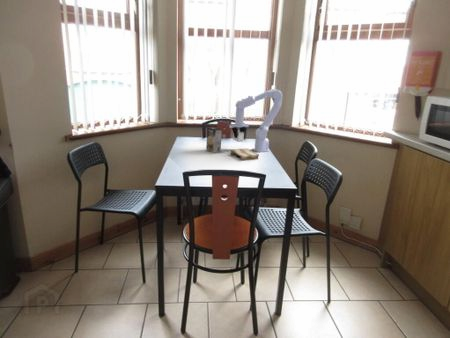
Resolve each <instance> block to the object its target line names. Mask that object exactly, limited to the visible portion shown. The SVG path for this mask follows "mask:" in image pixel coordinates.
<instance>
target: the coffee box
mask: <svg viewBox="0 0 450 338" xmlns="http://www.w3.org/2000/svg"><path fill="white" fill-rule="evenodd" d="M222 133H223V128H219V127H215V126H209V127H206V144H205V146H206V150H205V151H208V152H211V153H212V154H215V153H221V152H222V151H221V150H222V135H223V134H222Z"/></svg>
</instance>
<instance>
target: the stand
mask: <svg viewBox="0 0 450 338" xmlns="http://www.w3.org/2000/svg"><path fill="white" fill-rule="evenodd" d="M230 155H231V156H235V155H237V156H239V157H240V160H241V161H249V160H250V161H251V160H259V156H260V155H259V154H258V152H257V153H256V151H252V150H250V149H248V148H237V149H235V148H233V149H230Z"/></svg>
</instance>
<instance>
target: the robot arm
mask: <svg viewBox="0 0 450 338" xmlns="http://www.w3.org/2000/svg"><path fill="white" fill-rule="evenodd" d="M283 97H284V96H283V93H282V91H281V90H279V89H276V88H273V89H269V90H266V91H264V92H261V93H260V94H258V95H255V96H252V95H248V96H247V97H245V98H242V99H241V100H238V101H236V103H235V108H236V109H235V120H234V121H235V122H234V124H233V123H232V124H229V125H228V126H229V128H230V129H231V130H232V134H233V133H234V138H237V131H238V130H239V131H240V132H243V133H244V134H245V132H246V130H247V128H249V126H250V125H249V124H248V123H244V121H245V120H244V118H245V108H248V107H251V106H253V105H255V104H256V102H258V101H260V100H263V99H267V98H268V99H271V100H272V102H273V105H272V106H271V108H270V110H269V111H268V113H267V115H266V117H265V119H264V120H263V122H262V123H261V124H260V125H259V127H258V128H257V129H256V130H255V135H256V136H255V140H254V148H251V149H252V150H253V151H254V152H257V153H261V152H263V153H264V152H269V146H270V140H269V139H268V136H267V135H268V132H269V128H270V126H271V124H272V123H273V121H274V119H275V117H276V116H277V114H278V113H279V111H280V109H281V107H282V105H283ZM238 128H239V129H238ZM252 150H251V151H252Z"/></svg>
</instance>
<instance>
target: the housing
mask: <svg viewBox="0 0 450 338" xmlns="http://www.w3.org/2000/svg"><path fill="white" fill-rule="evenodd" d="M244 136H245V132H244V133H243V132H240V129H238V131H237V138H234V133H233V132H232V140H234V141H236V142H238V143H240V142H244V139H245V137H244Z"/></svg>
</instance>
